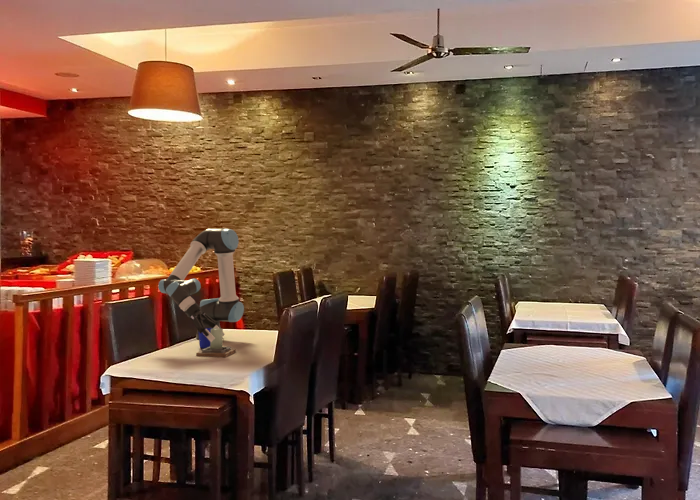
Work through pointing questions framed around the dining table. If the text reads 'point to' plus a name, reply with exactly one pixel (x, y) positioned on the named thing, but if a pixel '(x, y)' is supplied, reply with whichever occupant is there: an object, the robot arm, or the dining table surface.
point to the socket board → (216, 352)
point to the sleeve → (217, 339)
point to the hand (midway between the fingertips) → (218, 338)
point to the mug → (204, 339)
